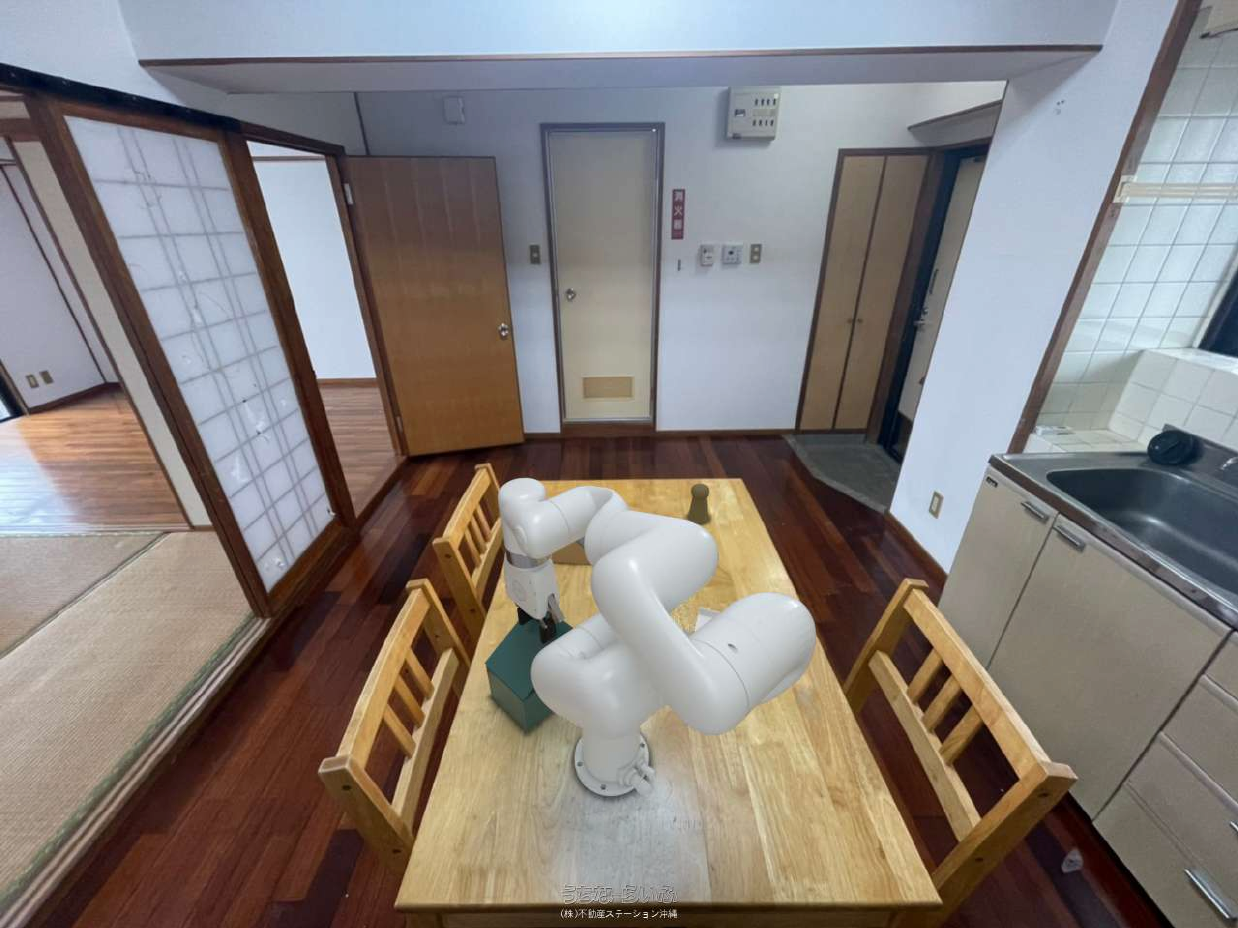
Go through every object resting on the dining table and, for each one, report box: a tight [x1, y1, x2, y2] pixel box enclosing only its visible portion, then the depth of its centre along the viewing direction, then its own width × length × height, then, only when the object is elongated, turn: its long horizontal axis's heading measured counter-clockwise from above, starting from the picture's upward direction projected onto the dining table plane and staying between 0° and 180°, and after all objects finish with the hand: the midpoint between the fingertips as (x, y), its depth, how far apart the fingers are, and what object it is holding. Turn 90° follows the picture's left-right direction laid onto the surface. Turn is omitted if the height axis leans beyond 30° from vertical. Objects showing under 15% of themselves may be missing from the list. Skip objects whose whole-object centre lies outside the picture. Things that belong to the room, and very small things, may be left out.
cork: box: [687, 483, 710, 525], centre depth 150 cm, size 6×6×11 cm
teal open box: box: [485, 664, 553, 733], centre depth 98 cm, size 14×11×8 cm
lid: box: [484, 611, 574, 700], centre depth 92 cm, size 14×11×5 cm
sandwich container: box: [551, 537, 591, 565], centre depth 134 cm, size 9×15×15 cm, turn 85°
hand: (537, 629), depth 94 cm, fingers closed on lid, 5 cm apart
